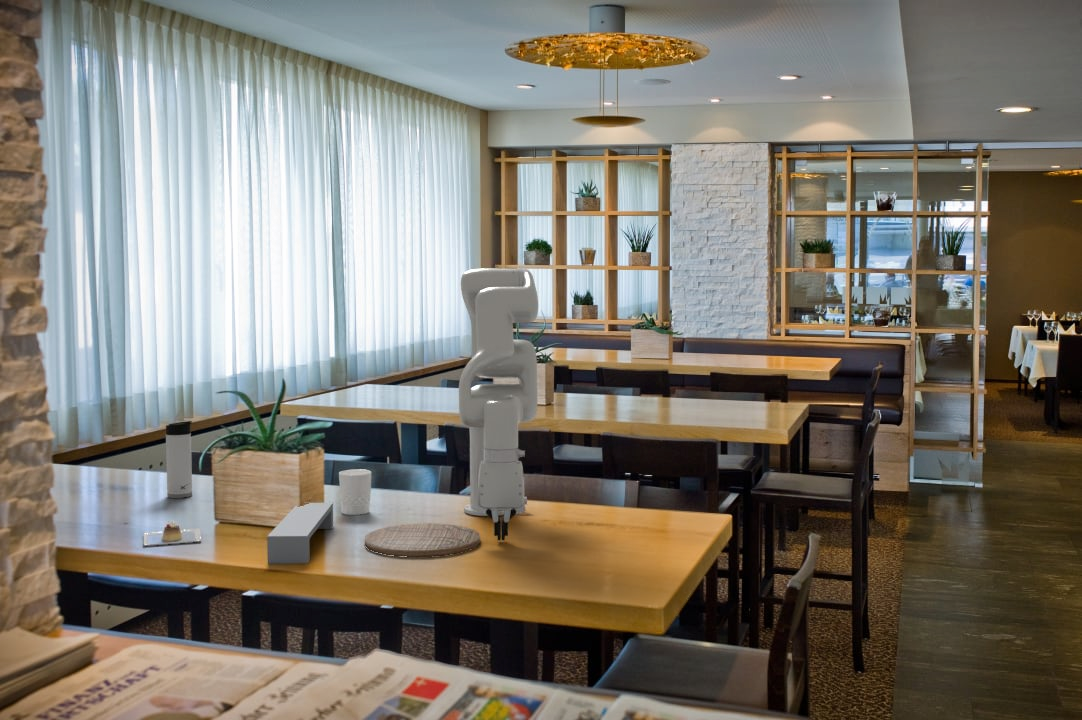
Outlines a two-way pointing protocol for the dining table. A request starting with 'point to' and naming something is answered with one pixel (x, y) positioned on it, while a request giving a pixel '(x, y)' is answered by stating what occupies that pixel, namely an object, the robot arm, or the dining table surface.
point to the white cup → (355, 491)
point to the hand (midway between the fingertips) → (501, 538)
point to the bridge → (298, 533)
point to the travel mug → (179, 460)
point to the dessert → (172, 535)
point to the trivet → (422, 540)
